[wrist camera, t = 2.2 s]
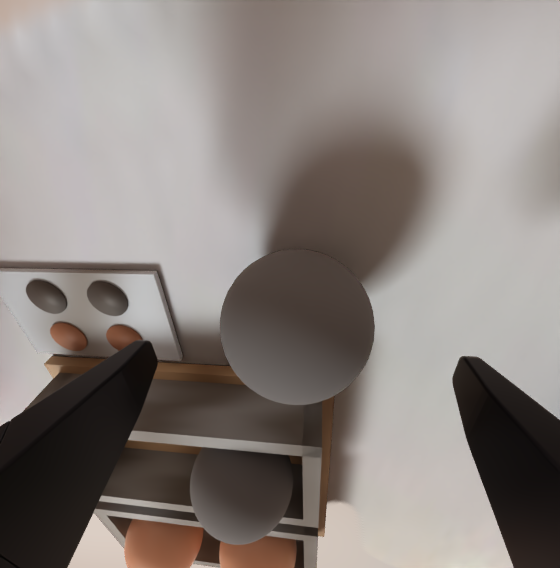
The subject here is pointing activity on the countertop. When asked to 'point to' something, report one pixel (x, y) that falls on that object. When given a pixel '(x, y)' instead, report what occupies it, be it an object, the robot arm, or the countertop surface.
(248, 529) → the resting charcoal ball
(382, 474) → the countertop surface
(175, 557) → the terracotta ball
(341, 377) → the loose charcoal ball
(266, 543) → the terracotta ball
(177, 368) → the grey sorting tray
